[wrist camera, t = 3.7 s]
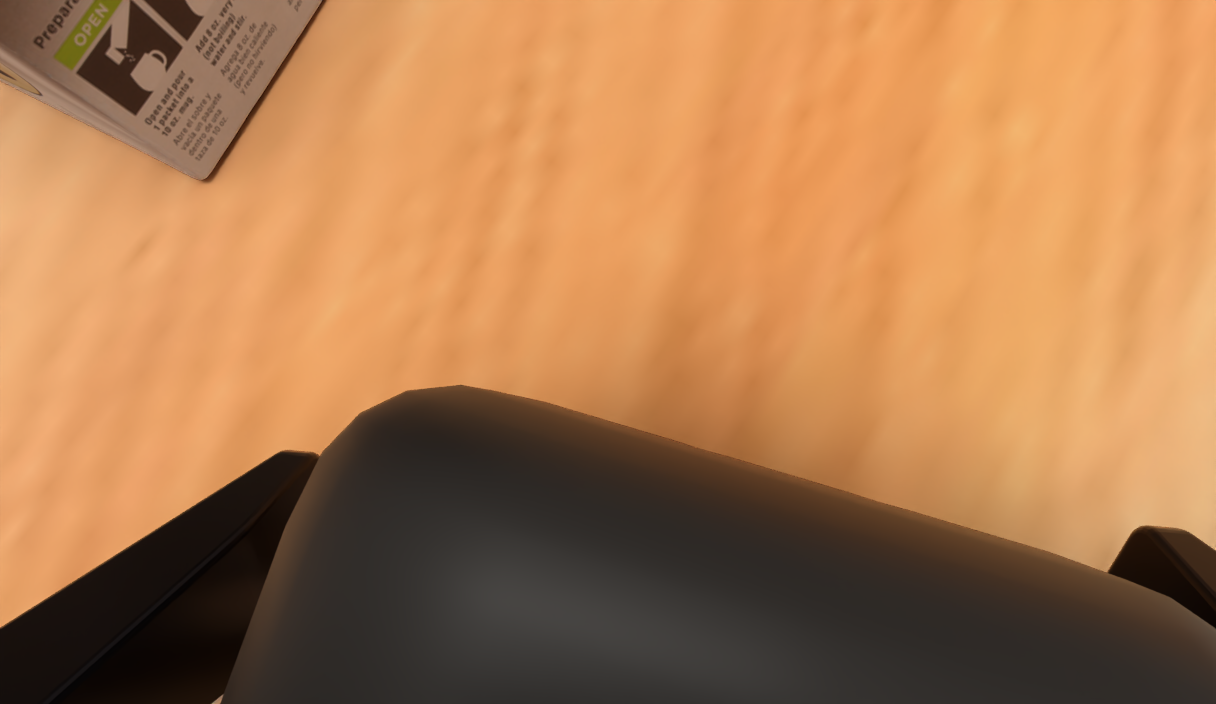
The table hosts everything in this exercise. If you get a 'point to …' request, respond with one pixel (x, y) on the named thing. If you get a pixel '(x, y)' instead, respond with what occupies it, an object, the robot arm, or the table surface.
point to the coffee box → (152, 66)
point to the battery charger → (666, 582)
